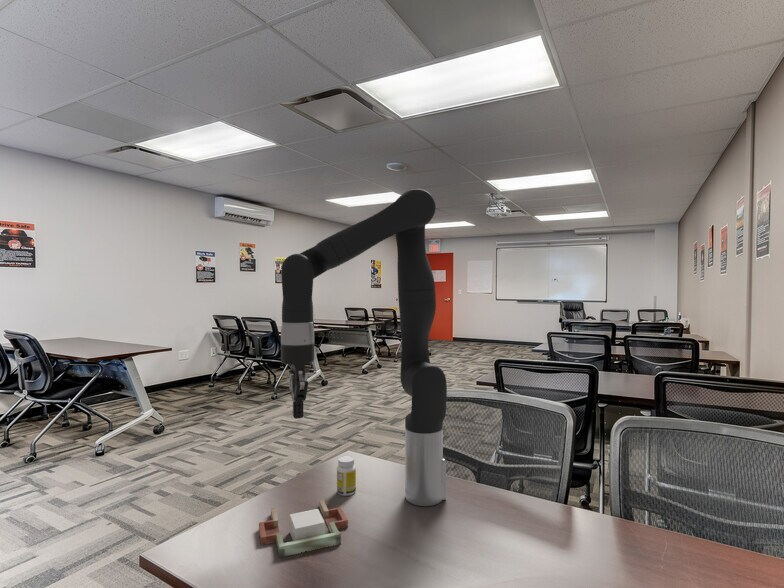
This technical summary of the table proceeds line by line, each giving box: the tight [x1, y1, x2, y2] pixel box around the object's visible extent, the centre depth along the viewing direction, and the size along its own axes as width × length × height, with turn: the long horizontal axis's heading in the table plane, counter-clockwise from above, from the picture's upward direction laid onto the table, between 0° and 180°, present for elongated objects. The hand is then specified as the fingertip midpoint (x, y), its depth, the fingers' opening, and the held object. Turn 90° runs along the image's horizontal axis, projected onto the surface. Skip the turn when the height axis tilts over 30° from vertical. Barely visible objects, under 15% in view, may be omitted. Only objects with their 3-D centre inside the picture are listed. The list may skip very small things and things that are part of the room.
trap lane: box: [258, 498, 349, 558], centre depth 92 cm, size 18×17×2 cm
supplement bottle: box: [336, 455, 357, 497], centre depth 109 cm, size 5×5×8 cm
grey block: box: [289, 508, 326, 541], centre depth 89 cm, size 6×6×4 cm
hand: (298, 417), depth 99 cm, fingers closed
